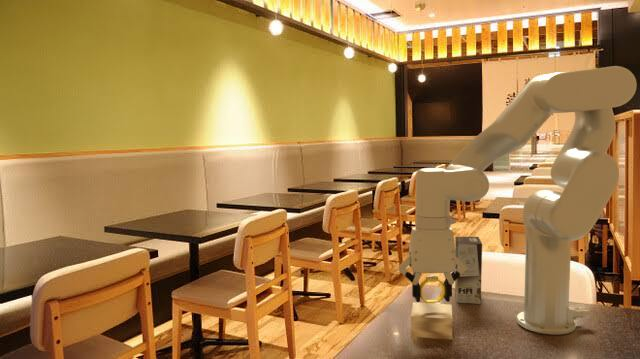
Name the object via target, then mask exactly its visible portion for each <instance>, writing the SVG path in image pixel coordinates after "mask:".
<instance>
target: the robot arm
mask: <svg viewBox="0 0 640 359" xmlns="http://www.w3.org/2000/svg"><path fill="white" fill-rule="evenodd" d="M636 91H637V79H636V77H635V75H634V73H632V71H631V70H629V69H628V68H625V67H623V66H619V65H613V66H606V67H599V68H590V69H581V70H574V71H573V70H570V71H560V72H553V73H547V74H541V75H538V76H535V77H534V78H531V80H530V81H528V82H527V83H526V85H524V86H523V87H522V89H521V90H520V91H519V92H518V93H517V95H516V96H514V98H513V99H512V101H511V102H510V103H509V104H508V105H507V106H506V107H505V108H504V110H503V111H502V112H501V113H500V114H499V115H498V116H497V118H496V119H495V120H494V121H493V122H492V123H491V124H490V125H489V126H487V127H486V128H485V129H483V131H481V132H480V133H479V134H478V135H476V136H475V137H474V138H473V139H471V141H469V142H468V143H467V144H466V145H465V146H464V147H462V149H461V150H460V151H459V152H458V154H457V155H456V156H455V157H454V158H453V159H452V160H451V161H450V163H449V164H448V165H447V166H446V168H442V167H424V168H420V169H418V170H417V171H416V173H415V226H414V227H412V228H411V231H410V236H409V245H408V246H409V247H408V249H409V250H408V256H407V257H406V258H405V259H404V260H403V261H402V262H400V264H399V265H398V266H397V269H398V271H399V272H400V273H401V274H402V275H403V276H404V277H406V279H408V280H409V281H410V282H411V284H412V287H411V289H412V290H411V291H412V292H411V294H412V298H414V299H415V301H416V302H417V303H420V302H421V297H420V279H421V277H422V275H423V274H443V276H444V277H445V280H444V282H443V284H444V285H445V296H444V298H443V299H444V300H445V301H446V302H449V303H450V302H451V300H450V299H451V298H452V297H453V285H455V280H456V279H457V278H458V277H459V276H460V275H461V274H462V273H463V272H464V271H465V270H466V269H467V267H466V266H465V265H464V264H463V263H462V262H461V261H460V260H459V259H458V258H457V257H456V253H455V236H454V231H453V228H452V227H451V226H452V225H453V224H457V217H456V216H455V217H453V216H451V215H450V214H451V211H450V210H451V208H450V206H451V201H459V202H471V203H472V202H476V201H479V200H481V199H483V198H484V197H485V196H486V195H487V194H488V193H489V189H490V182H489V178H488V176H487V175H486V174H485V172H484V171H485V170H486V169H487V168H488V167H489V166H490V165H492V164H493V163H494V162H496V161H497V160H499V159H501V158H503V157H506V156H507V155H510V154H513V153H516V152H517V151H518V150H521V149H522V148H524V147H525V146H526V145H527V144H528V142H530V140H531V139H532V138H533V137H534V135H535V134H536V133H537V132H538V131H539V130H540V129H541V127H542V126H543V125H544V124H545V123H546V122H547V121H548V120H549V119H550V117H551V116H552V115H553V114H563V113H574V116H575V117H574V123H573V126H572V128H571V131H570V133H569V135H568V137H567V139H566V141H565V142H564V143H563V145H562V147H561V149H560V151H559V152H558V154H557V157H556V158H555V160H554V161H553V162H552V165H551V168H550V178H551V180H552V182H553V183H554V184H556V185H557V186H558V187H560V188H562V189H563V190H562V192H559V191H556V190H549V189H543V190H538V191H535V192H533V193H532V194H530V195H529V196H528V197H527V198H526V199H525V202H524V204H523V208H522V219H523V220H522V221H523V227H524V235H525V236H524V238H525V258H524V260H525V263H524V265H525V266H524V298H523V301H524V302H523V303H524V306H523V311H522V312H519V313H517V315H516V322H517V324H518V325H520V326H521V327H523V328H524V329H525V330H528V331H531V332H534V333H538V334H542V335H543V334H544V335H560V336H561V335H566V334H570V333H573V332H574V331H575V330H576V322H575V321H576V320H577V319H590V318H591V312H590V310H589V309H580V308H579V306H577V307H576V306H573V307H571V306H569V304H570V280H571V279H570V278H571V256H572V255H571V254H572V251H571V244H570V243H571V242H574V241H578V240H580V239H583V238H584V237H585V236H587V235H588V234H589V233H590V231H591V230H592V229H593V227H594V226H595V225H596V223H597V221H598V220H599V218H600V216H601V215H602V213H603V211H604V209H605V207H606V206H607V204H608V203H609V201H610V199H611V198H612V196H613V194H614V192H615V190H616V188H617V186H618V183H619V177H620V168H619V165H618V163H617V161H616V160H615V158H614V157H613V156H611V155H610V154H609V153H607V152H608V150H609V148H610V145H611V144H612V141H613V140H614V137H615V134H616V127H617V125H616V117H615V114H614V110H613V108H617V107H622V106H623V105H625V104H627V103H628V102H629V101H631V99H633V97H634V95H635V94H636ZM456 264H457V265H458V268H457V269H456V270H455V268H456ZM408 267H410V268H411V271H412V273H411V272H410V271H409V270H408V269H407V268H408Z"/></svg>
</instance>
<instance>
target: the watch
mask: <svg viewBox="0 0 640 359" xmlns="http://www.w3.org/2000/svg"><path fill="white" fill-rule="evenodd" d="M429 282H430V283H436V282H438V283H439V284H440V285H441V292H440V295H439V296H438V297H437V298H436V299H425V298H424V296H423V289H424V287H425V285H426V284H428V283H429ZM419 285H420V300H422V301H423V302H424V303H434V304H437V303H440V302H441V301H443V299H444V296H445V285H444V282H443V281H442V280H441V279H439V276H437V275H427V276H426V277H425V279H424V280H422V281H421V283H419Z"/></svg>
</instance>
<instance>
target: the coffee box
mask: <svg viewBox="0 0 640 359" xmlns="http://www.w3.org/2000/svg"><path fill="white" fill-rule="evenodd" d="M454 242H455V253H456V257H457V258H458V259H459V260H460V261H461V262H462V263H463V264H464V265H465V266H466V267H467V269H466V270H465V271H464V272H463V273H462V274H461V275H460V276H459V277H458V278H457V279H456V280H455V281H454V285H455V286H454V294H455V299H456V303H458V304H459V303H460V304H477V305H481V303H482V270H483V268H482V266H483V265H482V264H483V243H482V241H481V239H480V237H479V236H454ZM457 268H458V265H457V264H456V268H455V270H456V269H457ZM455 270H454V271H455Z"/></svg>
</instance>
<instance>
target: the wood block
mask: <svg viewBox="0 0 640 359" xmlns="http://www.w3.org/2000/svg"><path fill="white" fill-rule="evenodd" d="M452 308H453V304H449V303H448V304H446V303H426V302H417V301H416V302H415V301H414V302H412V307H411V313H410V314H411V315H410V337H411V338H412V337H413V338H424V339H425V338H426V339H427V338H428V339H439V340H453V321H454V320H453V309H452Z"/></svg>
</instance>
